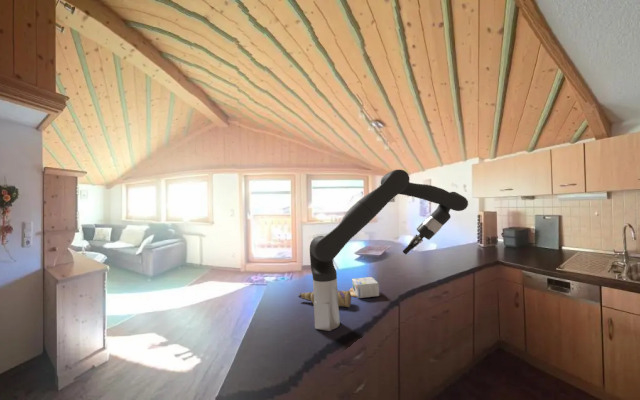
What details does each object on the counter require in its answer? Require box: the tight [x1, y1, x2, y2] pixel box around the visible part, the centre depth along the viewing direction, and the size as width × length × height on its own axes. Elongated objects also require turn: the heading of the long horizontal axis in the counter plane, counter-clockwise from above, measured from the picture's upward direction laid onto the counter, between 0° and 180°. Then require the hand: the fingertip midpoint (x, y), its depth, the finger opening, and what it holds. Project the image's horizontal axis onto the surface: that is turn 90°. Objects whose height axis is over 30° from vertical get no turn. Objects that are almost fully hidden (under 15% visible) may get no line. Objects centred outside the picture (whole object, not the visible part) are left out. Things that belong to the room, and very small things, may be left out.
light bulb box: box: [351, 276, 380, 299], centre depth 119 cm, size 11×7×11 cm
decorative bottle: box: [297, 290, 352, 308], centre depth 111 cm, size 26×8×7 cm, turn 67°
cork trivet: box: [348, 287, 358, 298], centre depth 122 cm, size 12×10×1 cm
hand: (404, 252), depth 116 cm, fingers closed
